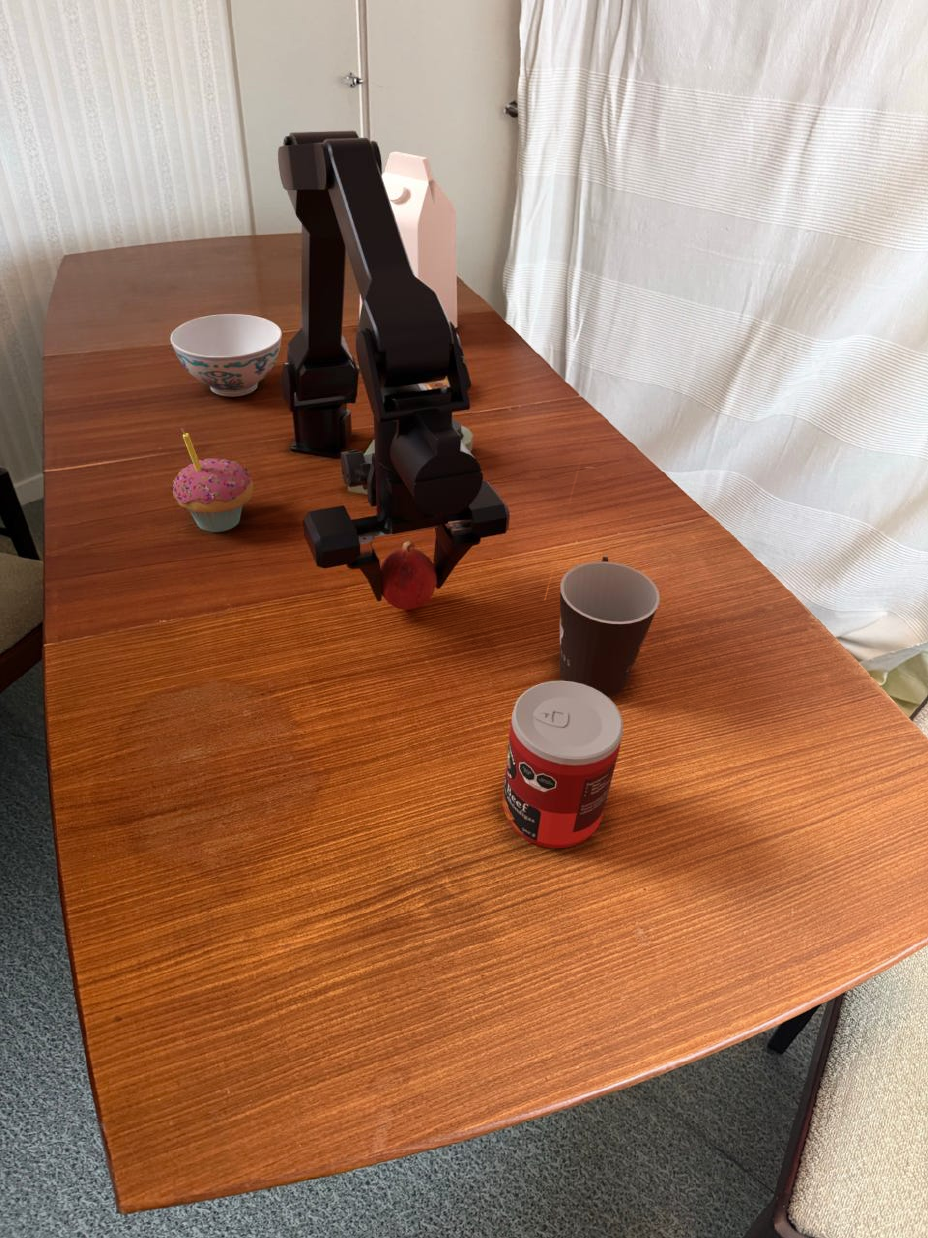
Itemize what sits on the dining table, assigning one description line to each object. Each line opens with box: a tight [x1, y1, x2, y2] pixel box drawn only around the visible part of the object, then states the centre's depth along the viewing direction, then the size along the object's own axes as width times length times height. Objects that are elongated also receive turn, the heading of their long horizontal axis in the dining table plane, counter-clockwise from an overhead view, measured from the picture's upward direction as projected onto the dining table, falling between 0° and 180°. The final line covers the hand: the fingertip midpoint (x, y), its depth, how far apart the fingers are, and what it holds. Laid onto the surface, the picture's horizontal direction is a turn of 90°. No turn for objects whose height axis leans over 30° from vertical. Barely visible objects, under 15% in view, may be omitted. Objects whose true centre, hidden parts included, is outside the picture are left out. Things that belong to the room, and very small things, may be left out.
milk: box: [358, 151, 458, 329], centre depth 131 cm, size 12×12×26 cm
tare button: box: [452, 418, 462, 437], centre depth 105 cm, size 4×4×2 cm
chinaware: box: [170, 313, 283, 397], centre depth 118 cm, size 15×15×8 cm
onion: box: [380, 540, 437, 611], centre depth 82 cm, size 6×6×8 cm
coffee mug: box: [559, 556, 661, 698], centre depth 76 cm, size 12×9×10 cm
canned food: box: [501, 680, 624, 849], centre depth 63 cm, size 8×8×11 cm
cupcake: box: [171, 427, 255, 533], centre depth 91 cm, size 9×8×12 cm
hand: (407, 592), depth 83 cm, fingers closed on onion, 6 cm apart
